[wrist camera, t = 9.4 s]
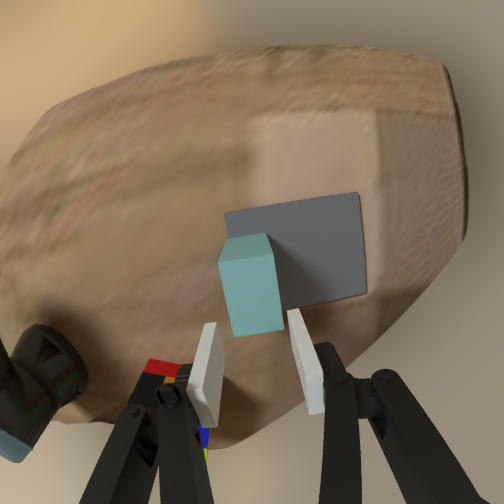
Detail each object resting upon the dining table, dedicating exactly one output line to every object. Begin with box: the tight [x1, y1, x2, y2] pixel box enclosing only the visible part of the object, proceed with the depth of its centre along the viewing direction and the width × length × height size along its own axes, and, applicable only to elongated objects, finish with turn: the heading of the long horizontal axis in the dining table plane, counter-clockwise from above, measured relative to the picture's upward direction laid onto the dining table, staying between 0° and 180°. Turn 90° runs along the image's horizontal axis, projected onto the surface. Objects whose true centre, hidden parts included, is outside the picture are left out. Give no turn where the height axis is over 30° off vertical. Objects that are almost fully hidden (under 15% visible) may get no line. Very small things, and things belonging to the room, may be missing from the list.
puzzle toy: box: [128, 359, 211, 461], centre depth 34 cm, size 10×10×10 cm
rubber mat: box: [224, 192, 366, 310], centre depth 33 cm, size 16×13×1 cm
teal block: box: [218, 233, 284, 337], centre depth 28 cm, size 4×7×10 cm, turn 9°
